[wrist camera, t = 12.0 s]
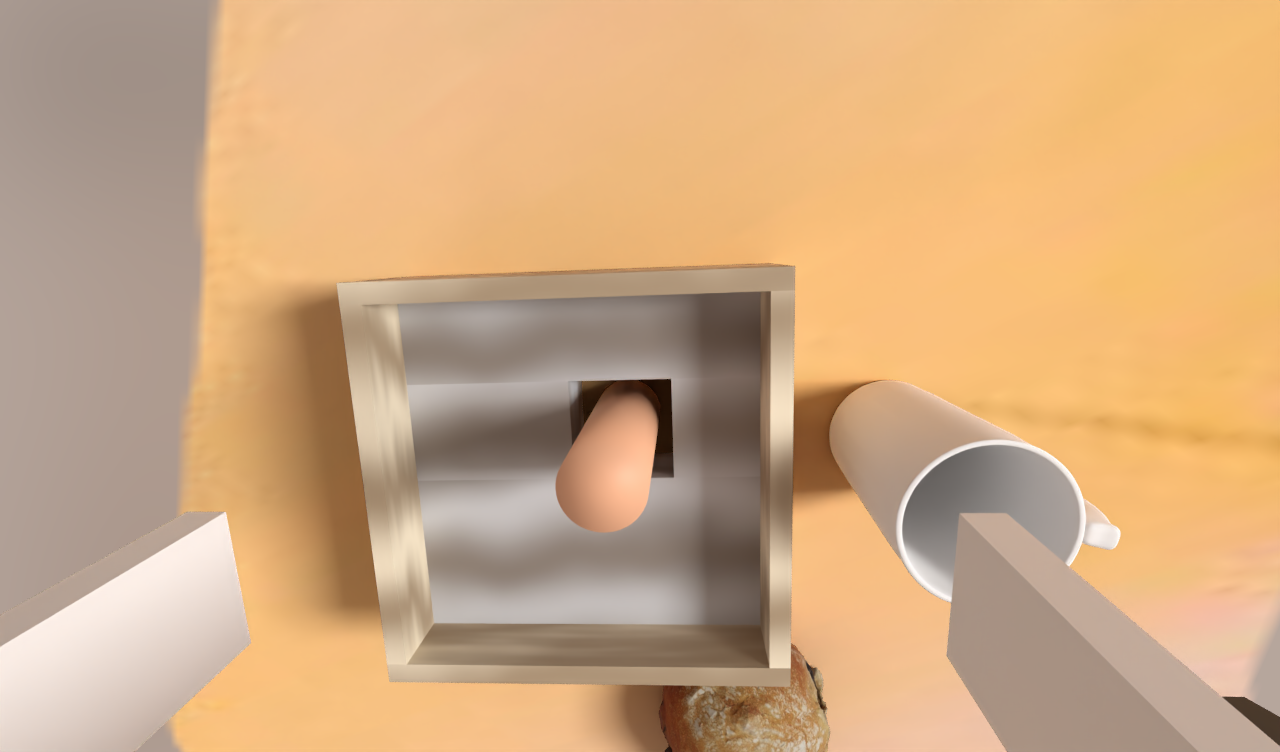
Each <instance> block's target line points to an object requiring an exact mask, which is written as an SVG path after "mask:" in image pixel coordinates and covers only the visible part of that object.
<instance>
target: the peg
mask: <svg viewBox="0 0 1280 752" xmlns="http://www.w3.org/2000/svg"><path fill="white" fill-rule="evenodd" d="M659 418H660V404H659V400H658V398H657V396H656V394H655V393H654V391H653V390H652V389H651V388H650V387H649V386H647V385H646V384H644V383H642V382H640V381H637V380H620V381H617V382H615V383H613V384H611V385H610V386H609V387H608V388H606V389H605V391H604V392H603V393H602V395H601V397H600V399H599V400H598V402H597V404H596V405H595V407H594V409H593V411H592V412H591V414H590V416H589V418H588V419H587V421H586V423H585V425H584V426H583V428H582V430H581V432H580V433H579V435H578V437H577V439H576V440H575V442H574V444H573V445H572V447H571V449H570V451H569V452H568V454H567V456H566V458H565V459H564V461H563V463H562V465H561V466H560V468H559V471H558V473H557V477H556V483H555V490H556V496H557V500H558V502H559V505H560V507H561V508H562V510H563V512H564V513H565V514H566V516H567V517H568V518H569V519H570V520H571V521H573V522H574V523H575V524H577V525H578V526H580V527H582V528H584V529H587V530H590V531H594V532H602V533H606V532H614V531H618V530H621V529H623V528H625V527H627V526H629V525H630V524H632V523H633V522H634V521H636V520H637V519H638V517H639V516H640V515H641V514H642V512H643V511H644V508H645V506H646V504H647V501H648V496H649V489H650V482H651V475H652V468H653V461H654V454H655V446H656V439H657V432H658V425H659Z"/></svg>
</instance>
